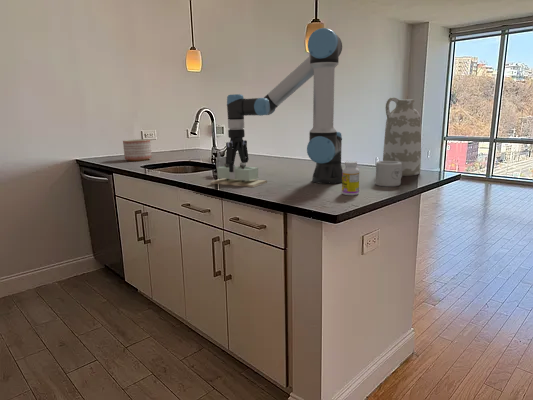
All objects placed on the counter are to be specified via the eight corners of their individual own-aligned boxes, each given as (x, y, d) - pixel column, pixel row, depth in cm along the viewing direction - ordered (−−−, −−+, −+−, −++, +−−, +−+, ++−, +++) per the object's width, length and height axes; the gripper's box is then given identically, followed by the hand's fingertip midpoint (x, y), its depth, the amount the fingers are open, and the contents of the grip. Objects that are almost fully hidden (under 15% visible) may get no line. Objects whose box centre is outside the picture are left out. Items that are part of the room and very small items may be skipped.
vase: (403, 169, 215) (407, 97, 206) (428, 174, 198) (433, 95, 189) (372, 172, 208) (374, 98, 199) (395, 177, 191) (398, 96, 182)
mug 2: (387, 187, 167) (388, 164, 165) (370, 184, 176) (370, 161, 174) (410, 184, 173) (411, 161, 171) (392, 181, 182) (393, 159, 180)
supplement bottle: (339, 192, 159) (340, 161, 157) (355, 192, 160) (356, 160, 157) (344, 196, 153) (345, 163, 150) (361, 195, 153) (362, 162, 151)
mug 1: (225, 177, 204) (223, 154, 202) (211, 175, 213) (210, 153, 210) (236, 175, 210) (235, 153, 207) (222, 173, 218) (221, 151, 215)
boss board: (267, 182, 186) (266, 163, 184) (253, 187, 176) (252, 167, 174) (226, 179, 198) (225, 161, 196) (211, 183, 188) (210, 164, 186)
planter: (120, 161, 286) (117, 141, 283) (132, 158, 305) (131, 139, 301) (144, 161, 283) (142, 141, 280) (156, 158, 301) (154, 139, 298)
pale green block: (258, 178, 186) (258, 167, 185) (249, 180, 179) (248, 169, 178) (227, 175, 195) (227, 165, 194) (217, 177, 188) (217, 167, 187)
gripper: (242, 127, 192) (243, 173, 197) (215, 130, 175) (218, 180, 180) (255, 127, 189) (256, 174, 194) (229, 130, 171) (231, 181, 176)
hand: (238, 177), depth 187 cm, fingers closed on pale green block, 8 cm apart
